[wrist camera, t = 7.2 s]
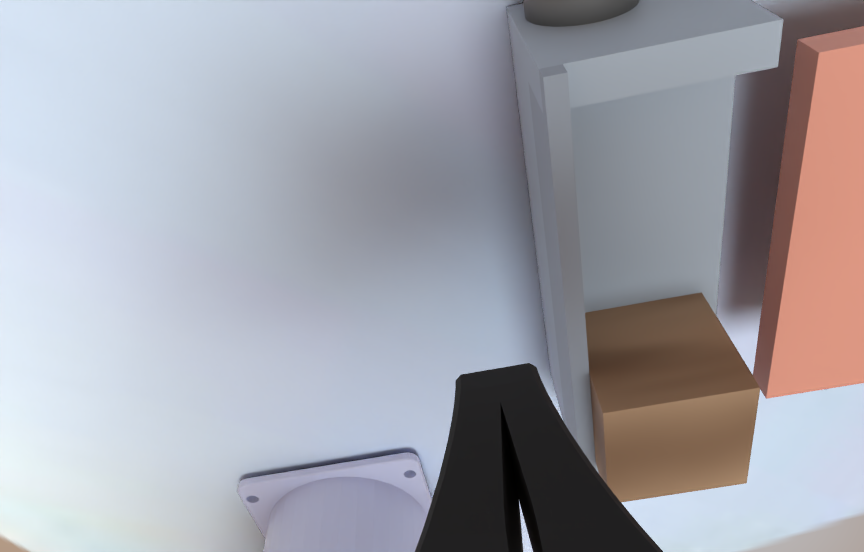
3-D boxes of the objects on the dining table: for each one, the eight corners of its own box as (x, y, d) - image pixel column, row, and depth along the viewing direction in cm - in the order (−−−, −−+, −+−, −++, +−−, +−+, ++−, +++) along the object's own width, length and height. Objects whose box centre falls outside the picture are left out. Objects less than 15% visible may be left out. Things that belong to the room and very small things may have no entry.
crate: (695, 384, 22) (746, 483, 19) (578, 403, 23) (608, 504, 20) (701, 292, 20) (760, 387, 17) (570, 315, 20) (603, 413, 17)
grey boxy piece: (678, 372, 26) (735, 490, 22) (552, 393, 27) (584, 513, 22) (695, -84, 17) (804, -39, 12) (500, -41, 17) (537, 17, 13)
